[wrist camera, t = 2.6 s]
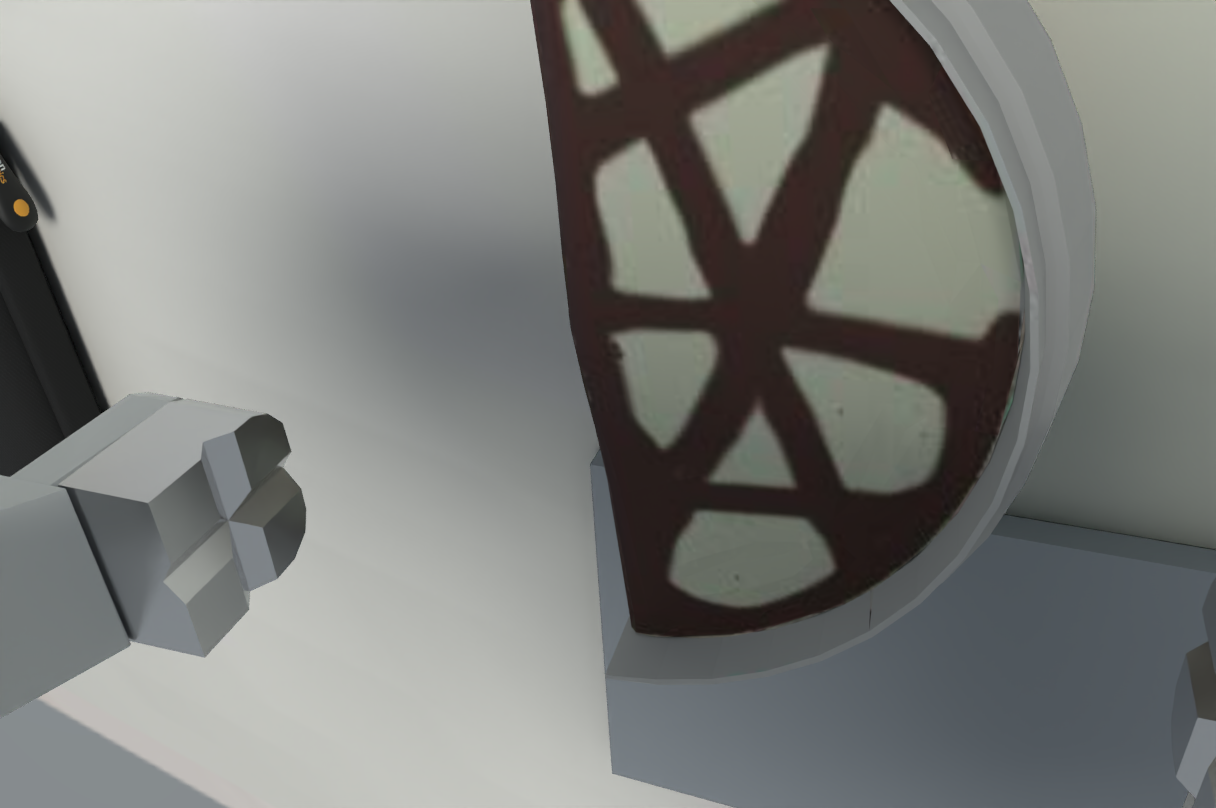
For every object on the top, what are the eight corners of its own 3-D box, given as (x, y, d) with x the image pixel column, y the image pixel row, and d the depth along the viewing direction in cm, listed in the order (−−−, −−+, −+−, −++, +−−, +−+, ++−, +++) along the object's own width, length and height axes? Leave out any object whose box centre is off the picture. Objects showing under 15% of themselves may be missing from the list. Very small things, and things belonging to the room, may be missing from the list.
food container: (1044, 398, 21) (1048, 787, 13) (757, 381, 23) (609, 704, 15) (1116, -318, 15) (1207, -409, 7) (714, -246, 17) (429, -253, 9)
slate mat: (1266, 558, 21) (1273, 583, 20) (1134, 892, 27) (1136, 919, 27) (601, 447, 26) (590, 464, 25) (620, 753, 32) (612, 773, 31)
